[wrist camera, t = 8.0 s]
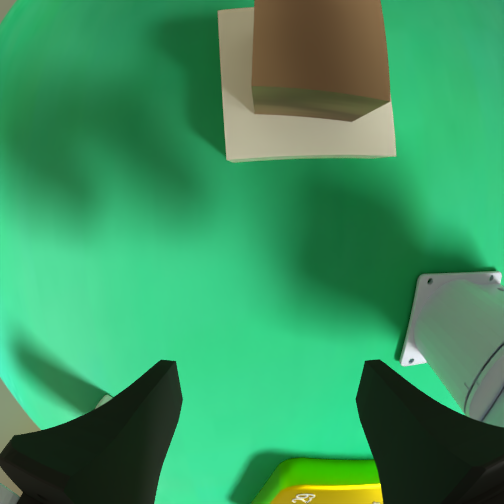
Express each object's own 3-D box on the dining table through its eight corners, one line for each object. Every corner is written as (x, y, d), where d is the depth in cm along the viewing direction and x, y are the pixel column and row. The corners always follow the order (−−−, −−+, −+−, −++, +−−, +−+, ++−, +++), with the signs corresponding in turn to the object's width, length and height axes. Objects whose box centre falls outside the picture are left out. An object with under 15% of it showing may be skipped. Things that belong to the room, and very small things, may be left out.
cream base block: (356, 37, 16) (374, 13, 12) (370, 158, 18) (396, 156, 14) (225, 38, 16) (217, 10, 12) (233, 162, 18) (226, 159, 14)
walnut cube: (349, 40, 12) (379, -3, 8) (351, 122, 14) (390, 101, 9) (257, 30, 12) (255, -20, 8) (254, 114, 14) (251, 86, 9)
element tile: (344, 509, 30) (349, 532, 25) (247, 505, 29) (245, 532, 24) (400, 455, 26) (411, 484, 21) (284, 452, 25) (286, 489, 20)
